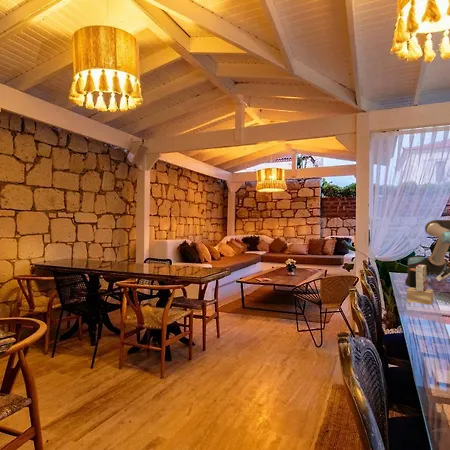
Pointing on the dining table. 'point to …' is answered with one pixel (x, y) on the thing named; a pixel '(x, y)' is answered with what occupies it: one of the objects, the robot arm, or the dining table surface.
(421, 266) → the candy bar box
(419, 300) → the ash block
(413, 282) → the coffee jar
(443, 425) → the dining table surface
